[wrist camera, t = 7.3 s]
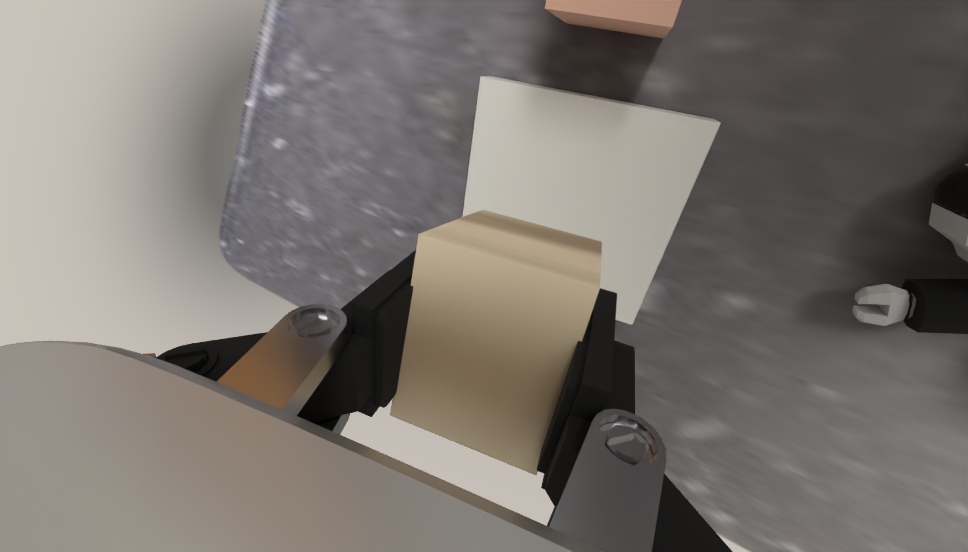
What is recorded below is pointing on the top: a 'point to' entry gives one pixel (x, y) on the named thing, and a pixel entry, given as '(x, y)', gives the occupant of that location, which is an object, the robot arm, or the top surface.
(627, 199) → the base plate
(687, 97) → the top surface
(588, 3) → the clay brick
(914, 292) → the robot toy
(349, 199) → the top surface
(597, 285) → the beech brick
